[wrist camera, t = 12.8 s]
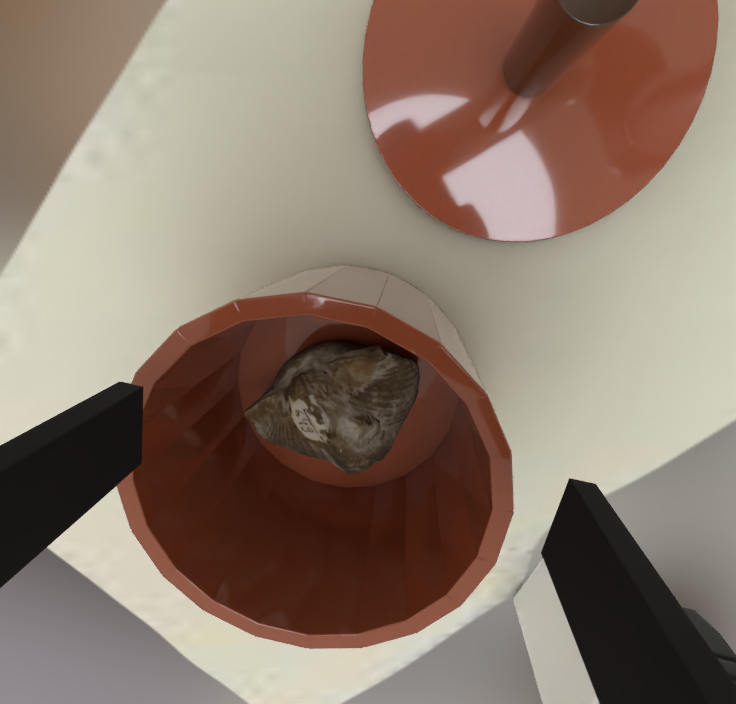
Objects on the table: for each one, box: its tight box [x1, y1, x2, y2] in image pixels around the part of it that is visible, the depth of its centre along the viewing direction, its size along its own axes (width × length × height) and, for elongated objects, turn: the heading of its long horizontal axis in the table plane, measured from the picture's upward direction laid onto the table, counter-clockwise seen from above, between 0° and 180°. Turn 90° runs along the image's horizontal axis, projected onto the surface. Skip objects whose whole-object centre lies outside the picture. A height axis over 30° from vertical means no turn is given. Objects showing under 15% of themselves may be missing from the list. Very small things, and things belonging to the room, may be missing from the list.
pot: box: [117, 265, 514, 649], centre depth 22 cm, size 16×16×12 cm
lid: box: [363, 0, 718, 242], centre depth 17 cm, size 17×17×9 cm
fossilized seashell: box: [244, 340, 420, 475], centre depth 25 cm, size 8×7×10 cm
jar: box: [513, 557, 599, 704], centre depth 25 cm, size 9×8×12 cm
